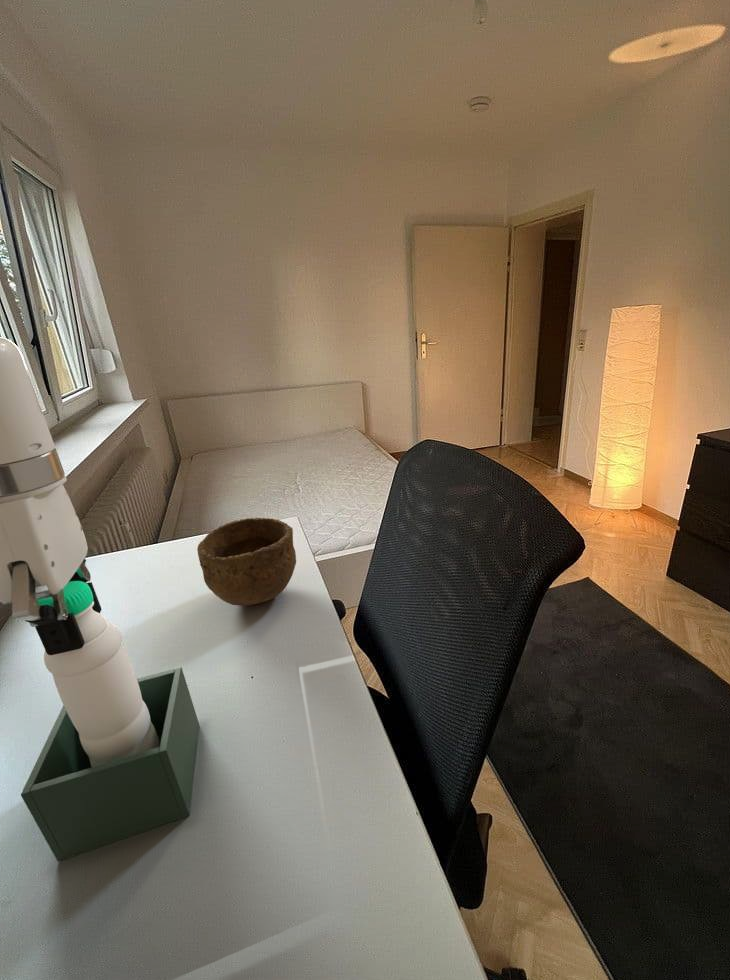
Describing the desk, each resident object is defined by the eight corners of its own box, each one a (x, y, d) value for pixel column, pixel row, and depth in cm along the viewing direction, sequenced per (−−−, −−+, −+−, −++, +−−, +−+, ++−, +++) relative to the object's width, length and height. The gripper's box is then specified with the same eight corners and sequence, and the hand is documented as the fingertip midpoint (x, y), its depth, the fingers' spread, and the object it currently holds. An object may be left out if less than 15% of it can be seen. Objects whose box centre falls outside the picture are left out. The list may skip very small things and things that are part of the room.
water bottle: (104, 745, 57) (33, 581, 48) (164, 727, 60) (107, 566, 50) (89, 796, 51) (5, 618, 42) (156, 773, 53) (90, 599, 44)
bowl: (304, 612, 89) (293, 547, 83) (205, 633, 85) (186, 565, 79) (300, 566, 106) (291, 510, 100) (217, 581, 102) (203, 523, 96)
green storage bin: (57, 862, 49) (20, 795, 45) (94, 756, 61) (67, 696, 57) (189, 815, 53) (166, 750, 49) (199, 725, 65) (181, 666, 61)
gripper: (8, 457, 48) (65, 597, 55) (-100, 517, 33) (-4, 701, 40) (87, 448, 50) (133, 584, 57) (20, 499, 35) (92, 677, 42)
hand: (76, 630), depth 48 cm, fingers closed on water bottle, 5 cm apart
